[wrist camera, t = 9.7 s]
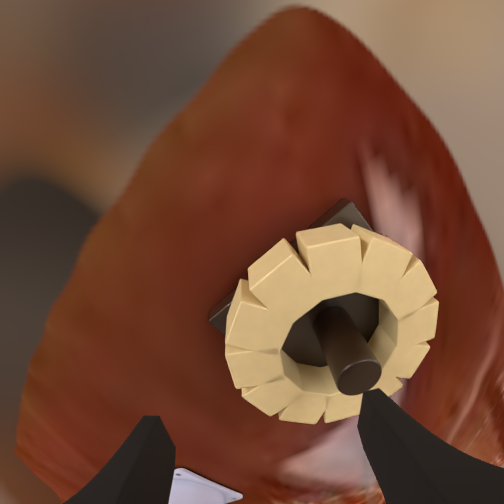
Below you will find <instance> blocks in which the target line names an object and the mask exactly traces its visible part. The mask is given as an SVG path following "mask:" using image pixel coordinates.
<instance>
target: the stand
mask: <svg viewBox="0 0 504 504" xmlns="http://www.w3.org/2000/svg"><path fill="white" fill-rule="evenodd" d="M334 224H343V225H344V226H346V227H347V228H348V229H350V230H351V228H352V225H353V224H355V225H357V226H360V227H362V228H365V229H367V230H370V231H372V232H373V230H372V229H371V227H370V226H369V225H368V223H367V222H366V220H365V219H364V217H363V216H362V215H361V213H360V212H359V210H358V209H357V208H356V206H355V205H354V204H353V202H352V201H350V200H347V199H345V198H342V199H341V200H340V201H339V202H338V203H337V204H336V205H334V206H333V207H332V208H331V209H330V210H329V211H327V212H326V213H325V214H324V215H323V216H322V217H320V218H319V219H318V220H317V221H316V222H315V223H313V224H312V225H311V226H310V227H309V228H308V229H306V230H309V229H314V228H319V227H324V226H329V225H334ZM290 245H291V246H292V247H293V248H294V250H295V251H296V252H297V253H298V254H299V250H298V244H297V238H296V239H295V240H294V241H292V242H291V243H290ZM247 281H249V278H248V279H247ZM236 289H237V288H236ZM236 289H235V290H234V291H233V292H232V293H230V294H229V295H228V296H227V297H225V298H224V299H223V300H222V301H221V302H219V303H218V304H217V305H216V306H215V307H213V308H212V309H211V310H210V315H209V322H210V323H211V324H212V325H214V326H215V327H216V328H217V329H218V330H219V331H220V332H221V333H223V334H224V335H225V336H226V323H227V315H228V312H229V309H230V306H231V304H232V301H233V298H234V295H235V292H236ZM378 324H379V299H377V298H374V297H370V296H367V295H364V294H360V293H357V292H355V293H351V294H347V295H343V296H338V297H334V298H330V299H326V300H322V301H321V302H319V303H318V304H317V305H316V306H314V307H313V308H312V309H311V310H309V311H308V312H307V313H305V314H304V315H303V316H302V317H300V318H299V319H298V320H296V321H295V322H294V323H293V324H292V327H291V329H290V331H289V333H288V335H287V337H286V339H285V342H284V344H283V346H282V348H281V349H282V350H283V351H284V352H285V353H286V354H287V355H288V356H289V357H290V358H291V359H293V360H294V361H295V362H296V363H300V364H305V365H310V366H315V367H324V366H329V369H330V371H331V374H332V377H333V379H334V382H335V384H336V387H337V389H338V390H339V392H341V393H342V394H344V395H348V396H354V395H359V394H362V393H363V392H365V391H368V390H370V389H371V388H372V387H374V386H375V385H376V384H377V382H378V381H379V379H380V377H381V374H382V367H381V364H380V363H379V361H378V360H377V358H376V356H375V355H374V353H373V352H372V350H371V348H370V347H369V345H368V342H369V340H370V338H371V337H372V335H373V333H374V331H375V329H376V328H377V326H378Z"/></svg>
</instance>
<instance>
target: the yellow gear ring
mask: <svg viewBox="0 0 504 504" xmlns="http://www.w3.org/2000/svg"><path fill="white" fill-rule="evenodd" d="M296 238H297V244H298V250H299V254H298V253H297V252H296V251H295V250H294V248H293V247H292V246H291V245H290V244H289V243H288V241H287V240H286V239H282V240H281V241H280V242H278V243H277V244H276V245H275V246H274V247H272V248H271V249H270V250H269V251H268V252H266V253H265V254H264V255H263V256H262V257H261V258H259V259H258V260H257V261H256V262H255V263H253V264H252V265H251V266H250V267H249V268H248V278H249V281H247V280H244V279H240V281H239V284H238V286H237V289H236V292H235V295H234V298H233V301H232V304H231V306H230V309H229V312H228V315H227V323H226V338H225V344H226V348H225V357H226V360H227V363H228V366H229V369H230V372H231V376H232V379H233V382H234V385H235V387H236V389H240V388H242V397H243V398H244V399H246V400H247V401H248V402H250V403H251V404H253V405H254V406H256V407H257V408H258V409H260V410H261V411H263V412H264V413H266V414H267V415H269V416H272V415H274V414H276V413H277V412H278V414H279V420H284V421H291V422H300V423H309V424H316V423H317V421H318V420H319V419H320V417H321V416H322V414H323V417H324V420H325V423H328V422H332V421H336V420H340V419H344V418H347V417H351V416H354V415H358V414H360V408H361V402H362V395H363V393H362V394H359V395H354V396H348V395H344V394H342V393H341V392H339V390H338V389H337V387H336V384H335V382H334V379H333V377H332V374H331V371H330V369H329V366H324V367H315V366H310V365H305V364H300V363H296V362H295V361H294V360H293V359H291V358H290V357H289V356H288V355H287V354H286V353H285V352H284V351H283V350H282V349H281V348H282V346H283V344H284V342H285V339H286V337H287V335H288V333H289V331H290V329H291V327H292V324H293V323H294V322H295V321H296V320H298V319H299V318H300V317H302V316H303V315H304V314H305V313H307V312H308V311H309V310H311V309H312V308H313V307H314V306H316V305H317V304H318V303H319V302H321V301H322V300H326V299H330V298H334V297H338V296H343V295H347V294H351V293H355V292H357V293H360V294H364V295H367V296H370V297H374V298H377V299H379V324H378V326H377V328H376V329H375V331H374V333H373V335H372V337H371V338H370V340H369V342H368V345H369V347H370V348H371V350H372V352H373V353H374V355H375V356H376V358H377V360H378V361H379V363H380V364H381V367H382V374H381V377H380V379H379V381H378V382H377V384H376V385H375V386H374V387H372V388H371V389H370V390H373V389H376V388H380V389H381V390H382V391H383V392H384V393H385V394H386V395H387V396H388V397H389V396H390V395H392V394H393V393H394V392H396V391H397V390H399V389H400V388H401V387H402V383H401V382H400V380H399V379H398V377H401V378H411V377H412V375H413V374H414V372H415V371H416V369H417V368H418V366H419V365H420V363H421V362H422V360H423V358H424V357H425V355H426V354H427V352H428V350H429V349H430V346H429V345H428V344H427V343H426V342H425V341H427V340H430V339H433V338H434V337H435V331H436V323H437V315H438V306H439V302H438V301H437V300H436V299H435V298H434V297H433V296H434V295H435V294H436V293H437V291H436V289H435V287H434V285H433V283H432V281H431V279H430V277H429V275H428V273H427V271H426V269H425V267H424V266H423V264H422V262H421V260H419V259H418V258H416V257H415V256H413V255H412V252H410V251H409V250H407V249H406V248H404V247H402V246H401V245H399V244H397V243H396V242H394V241H392V240H391V239H389V238H387V237H384V236H382V235H380V234H377V233H375V232H372V231H370V230H367V229H365V228H362V227H360V226H357V225H355V224H353V225H352V228H351V230H350V229H348V228H347V227H346V226H344V225H343V224H334V225H329V226H324V227H319V228H314V229H309V230H304V231H299V232H296ZM368 391H369V390H368Z"/></svg>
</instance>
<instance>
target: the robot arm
mask: <svg viewBox="0 0 504 504" xmlns="http://www.w3.org/2000/svg"><path fill="white" fill-rule="evenodd" d="M357 427H358V431H359V434H360V438H361V442H362V445H363V448H364V451H365V453H366V456H367V458H368V460H369V463H370V465H371V467H372V470H373V472H374V474H375V476H376V479H377V481H378V483H379V486H380V488H381V490H382V493H383V495H384V498H385V501H386V504H504V468H501V467H498V466H495V465H492V464H489V463H487V462H484V461H481V460H479V459H476V458H474V457H472V456H470V455H468V454H466V453H464V452H462V451H460V450H458V449H456V448H454V447H453V446H451V445H449V444H448V443H446V442H444V441H443V440H441V439H440V438H438V437H437V436H436V435H434V434H433V433H431V432H430V431H429V430H427V429H426V428H425V427H423V426H422V425H421V424H419V423H418V422H417V421H416V420H415V419H413V418H412V417H411V416H410V415H408V414H407V413H406V412H405V411H404V410H403V409H402V408H400V407H399V406H398V405H397V404H396V403H395V402H394V401H393V400H392V399H391V398H390V397H388V396H387V395H386V394H385V393H384V392H383V391H382V390H381V389H380V388H376V389H373V390H369V391H365V392H363V395H362V402H361V408H360V414H359V420H358V425H357ZM175 450H176V447H175V446H174V444H173V442H172V440H171V438H170V436H169V434H168V432H167V430H166V428H165V426H164V424H163V422H162V420H161V418H160V416H143V417H142V419H141V420H140V421H139V423H138V424H137V425H136V427H135V428H134V429H133V431H132V432H131V433H130V435H129V436H128V437H127V439H126V440H125V441H124V443H123V444H122V445H121V447H120V448H119V449H118V450H117V452H116V453H115V454H114V455H113V457H112V458H111V459H110V460H109V461H108V463H107V464H106V465H105V466H104V467H103V468H102V469H101V470H100V471H99V473H98V474H97V475H96V476H95V477H94V478H93V479H92V480H91V481H90V482H89V483H88V484H87V485H86V486H84V487H83V488H82V489H81V490H80V491H79V492H78V493H76V494H75V495H74V496H73V497H71V498H70V499H69V500H67V501H66V502H65V503H63V504H226V503H229V502H233V501H236V500H239V499H242V498H243V495H242V494H240V493H238V492H235V491H233V490H230V489H228V488H226V487H223V486H221V485H219V484H216V483H214V482H212V481H210V480H207V479H205V478H203V477H201V476H199V475H197V474H195V473H193V472H191V471H189V470H187V469H184V468H178V469H176V470H175Z"/></svg>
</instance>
